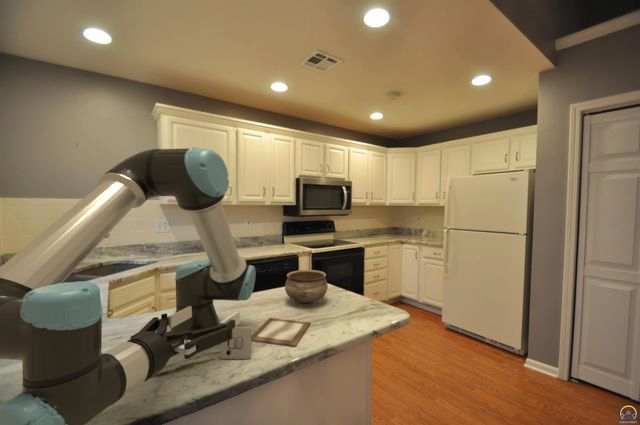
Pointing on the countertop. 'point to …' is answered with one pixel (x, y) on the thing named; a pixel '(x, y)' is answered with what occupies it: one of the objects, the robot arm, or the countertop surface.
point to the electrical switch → (237, 344)
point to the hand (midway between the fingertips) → (213, 314)
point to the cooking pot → (306, 286)
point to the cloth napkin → (280, 332)
